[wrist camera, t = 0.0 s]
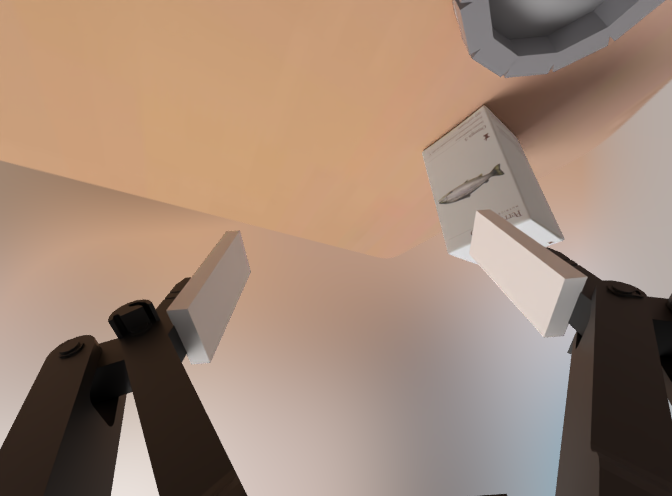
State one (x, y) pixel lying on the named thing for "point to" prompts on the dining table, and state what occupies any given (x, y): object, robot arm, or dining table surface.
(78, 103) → the dining table surface
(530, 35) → the round holder
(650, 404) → the robot arm
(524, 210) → the supplement box
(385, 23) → the dining table surface
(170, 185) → the dining table surface
